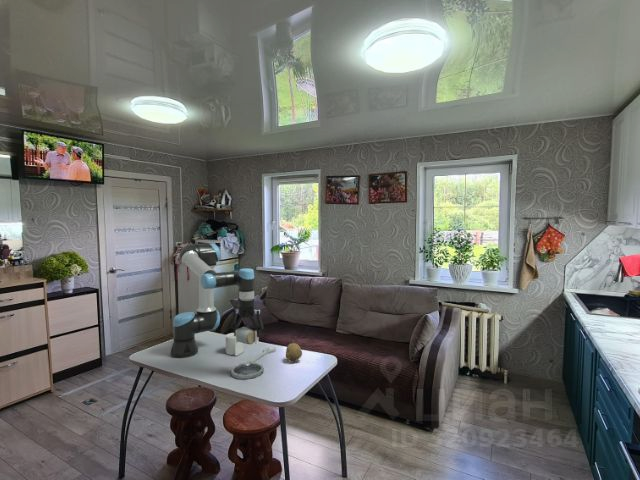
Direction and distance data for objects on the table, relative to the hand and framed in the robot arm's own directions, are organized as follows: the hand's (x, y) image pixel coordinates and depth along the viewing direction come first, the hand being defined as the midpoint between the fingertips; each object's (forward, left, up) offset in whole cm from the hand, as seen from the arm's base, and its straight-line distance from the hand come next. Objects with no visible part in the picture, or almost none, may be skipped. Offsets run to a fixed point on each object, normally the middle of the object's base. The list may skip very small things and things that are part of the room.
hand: (247, 342), depth 171 cm
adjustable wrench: (-1, +22, -16) cm, 27 cm away
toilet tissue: (-18, +26, -16) cm, 35 cm away
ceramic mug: (0, +1, 0) cm, 1 cm away
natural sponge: (+20, +18, -16) cm, 31 cm away
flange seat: (0, 0, -16) cm, 16 cm away
